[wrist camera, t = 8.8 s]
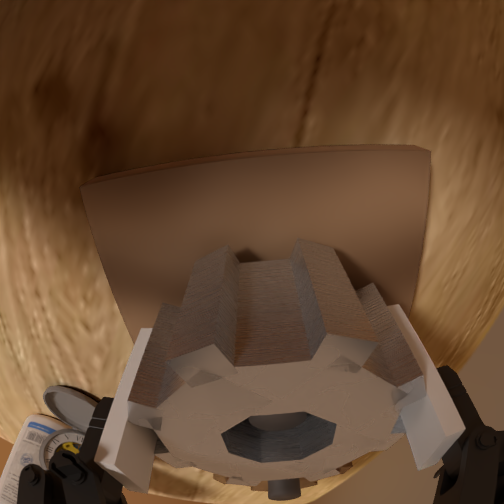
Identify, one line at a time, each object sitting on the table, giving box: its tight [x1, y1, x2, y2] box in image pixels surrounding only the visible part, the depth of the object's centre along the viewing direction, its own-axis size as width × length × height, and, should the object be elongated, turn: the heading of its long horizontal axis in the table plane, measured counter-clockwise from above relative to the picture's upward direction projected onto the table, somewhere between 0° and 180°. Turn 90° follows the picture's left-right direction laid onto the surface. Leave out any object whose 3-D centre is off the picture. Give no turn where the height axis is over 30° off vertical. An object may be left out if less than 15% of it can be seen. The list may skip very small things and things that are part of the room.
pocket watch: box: [39, 386, 98, 470], centre depth 16 cm, size 8×8×10 cm
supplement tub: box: [0, 414, 81, 504], centre depth 17 cm, size 10×10×15 cm
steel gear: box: [127, 238, 426, 486], centre depth 11 cm, size 10×10×5 cm
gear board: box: [79, 145, 431, 501], centre depth 14 cm, size 23×14×6 cm, turn 6°
